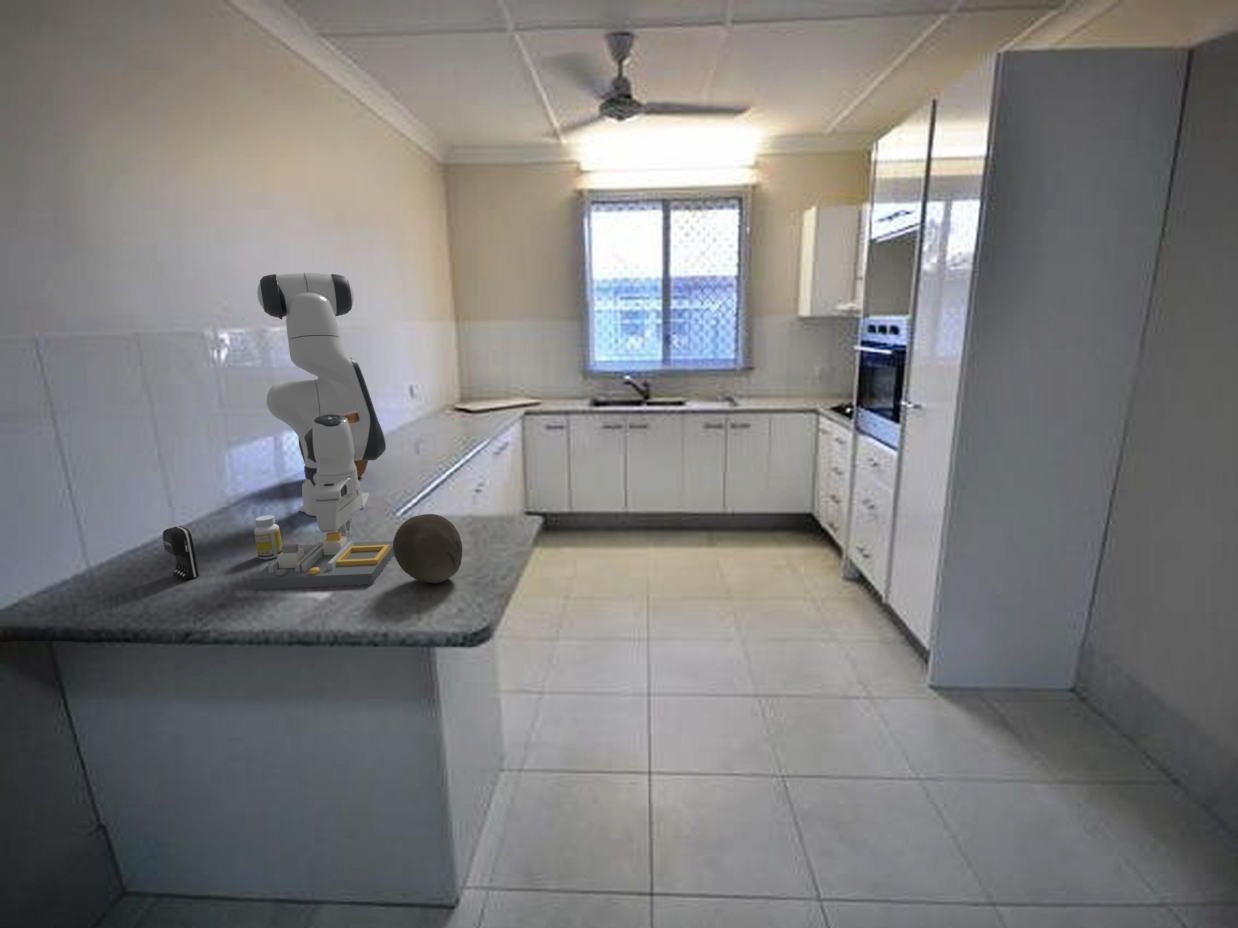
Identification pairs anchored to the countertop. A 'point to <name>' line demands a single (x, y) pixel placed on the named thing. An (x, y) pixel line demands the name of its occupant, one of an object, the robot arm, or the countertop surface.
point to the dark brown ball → (428, 548)
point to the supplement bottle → (267, 537)
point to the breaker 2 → (334, 543)
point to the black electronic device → (181, 551)
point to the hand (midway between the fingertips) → (345, 537)
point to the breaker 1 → (290, 555)
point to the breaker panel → (329, 567)
